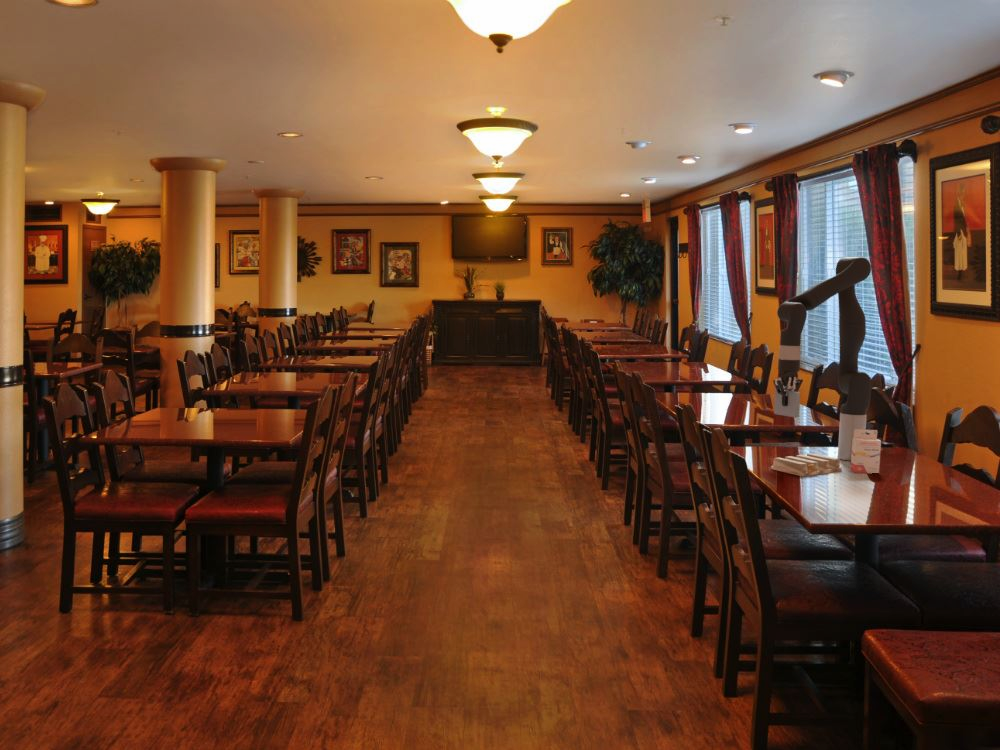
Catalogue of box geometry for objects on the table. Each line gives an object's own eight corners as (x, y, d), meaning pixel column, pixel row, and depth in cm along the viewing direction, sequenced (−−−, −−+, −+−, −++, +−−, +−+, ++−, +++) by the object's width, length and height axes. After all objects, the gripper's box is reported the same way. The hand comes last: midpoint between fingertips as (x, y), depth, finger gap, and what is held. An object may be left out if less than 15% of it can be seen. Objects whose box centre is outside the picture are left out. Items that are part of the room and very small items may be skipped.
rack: (809, 463, 335) (809, 452, 335) (841, 470, 323) (842, 459, 323) (770, 468, 324) (771, 457, 324) (802, 476, 313) (803, 464, 312)
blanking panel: (777, 413, 338) (778, 389, 337) (798, 417, 329) (800, 392, 328) (773, 413, 337) (775, 389, 336) (795, 417, 328) (797, 392, 327)
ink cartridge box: (854, 473, 320) (856, 431, 319) (850, 470, 325) (852, 428, 324) (879, 474, 319) (882, 432, 318) (875, 471, 324) (877, 429, 323)
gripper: (794, 356, 338) (791, 403, 339) (768, 357, 330) (765, 405, 332) (810, 358, 331) (807, 406, 333) (784, 359, 324) (781, 408, 326)
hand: (786, 405), depth 333 cm, fingers closed on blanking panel, 1 cm apart
